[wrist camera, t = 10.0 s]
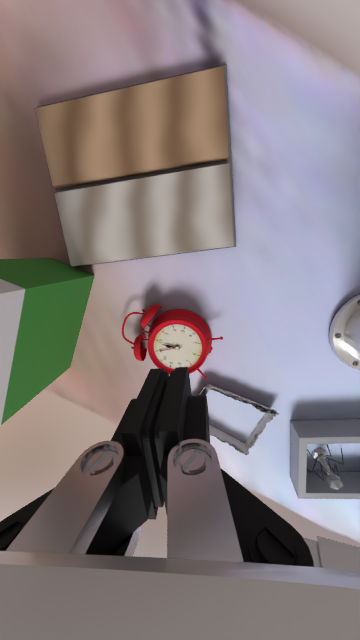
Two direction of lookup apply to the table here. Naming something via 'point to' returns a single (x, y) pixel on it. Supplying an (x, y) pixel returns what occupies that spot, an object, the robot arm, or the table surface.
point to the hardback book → (37, 326)
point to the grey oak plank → (148, 216)
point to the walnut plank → (136, 130)
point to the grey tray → (322, 433)
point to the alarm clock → (174, 339)
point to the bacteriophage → (327, 468)
